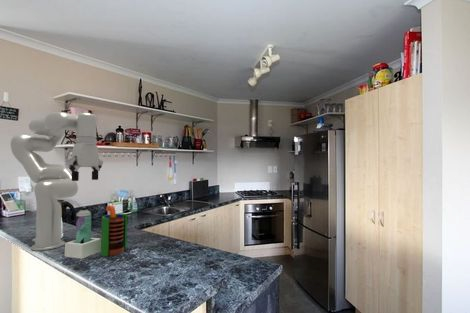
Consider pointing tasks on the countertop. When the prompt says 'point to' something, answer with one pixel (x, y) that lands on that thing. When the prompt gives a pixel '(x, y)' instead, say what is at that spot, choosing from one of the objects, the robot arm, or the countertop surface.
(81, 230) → the spray can
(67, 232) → the countertop surface
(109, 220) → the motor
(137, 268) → the countertop surface
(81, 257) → the square frame
